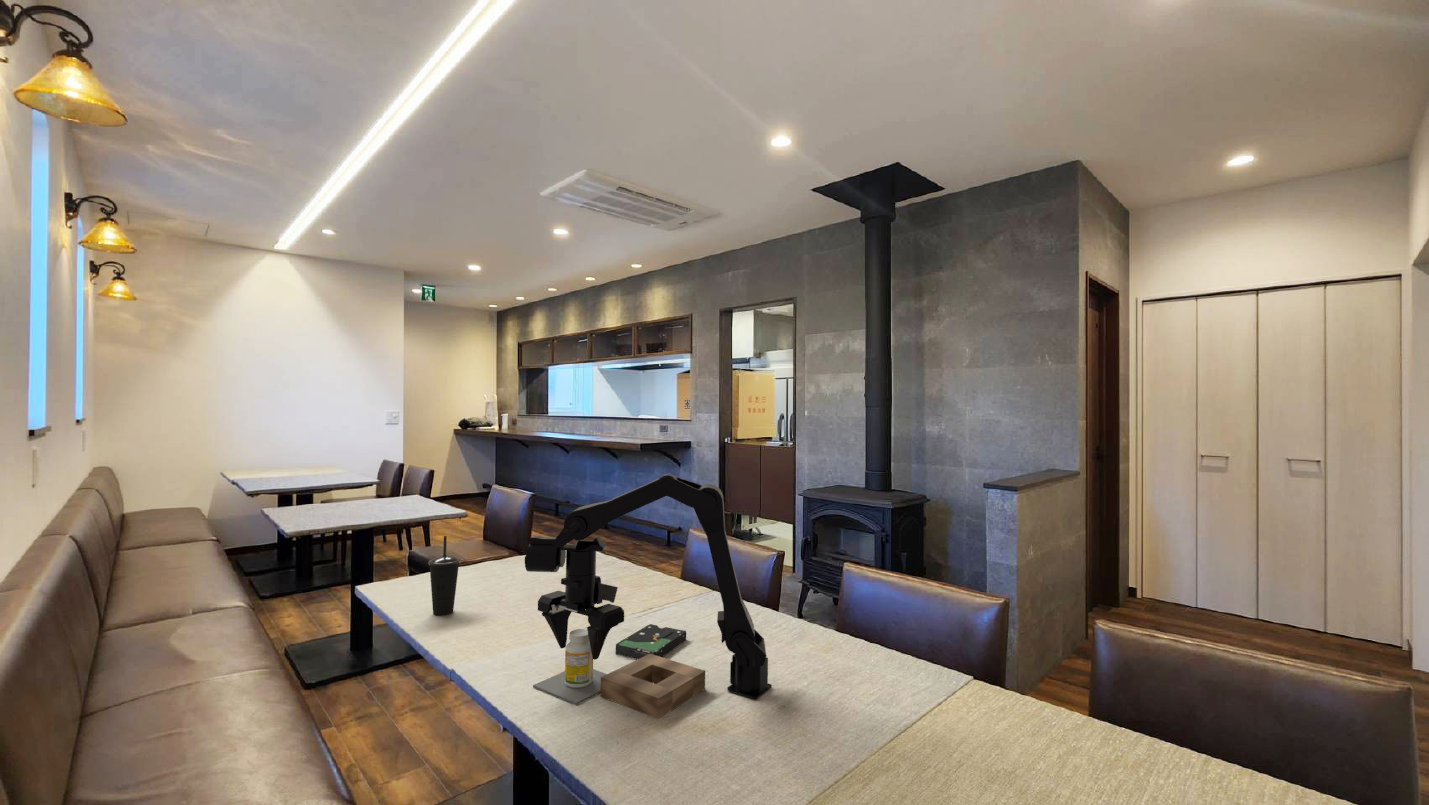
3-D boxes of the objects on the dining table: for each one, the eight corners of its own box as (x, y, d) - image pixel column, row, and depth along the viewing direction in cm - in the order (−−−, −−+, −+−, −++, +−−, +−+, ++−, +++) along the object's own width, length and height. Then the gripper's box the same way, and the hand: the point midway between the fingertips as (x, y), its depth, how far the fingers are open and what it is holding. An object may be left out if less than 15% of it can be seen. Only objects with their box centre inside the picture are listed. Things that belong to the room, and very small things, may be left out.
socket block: (704, 689, 114) (705, 670, 114) (658, 719, 102) (658, 698, 102) (649, 670, 122) (649, 653, 122) (600, 696, 110) (600, 677, 110)
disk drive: (648, 635, 143) (614, 656, 130) (649, 623, 144) (614, 643, 130) (686, 642, 139) (655, 665, 126) (687, 630, 139) (655, 651, 126)
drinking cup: (427, 610, 157) (429, 534, 158) (458, 606, 161) (460, 532, 161) (426, 619, 150) (428, 540, 151) (459, 615, 154) (461, 537, 154)
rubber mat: (622, 681, 116) (622, 679, 116) (576, 705, 107) (576, 703, 107) (580, 666, 123) (580, 664, 123) (532, 687, 113) (533, 685, 113)
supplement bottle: (581, 690, 111) (582, 639, 112) (558, 685, 114) (559, 634, 114) (598, 679, 116) (599, 630, 117) (576, 674, 118) (577, 626, 119)
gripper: (644, 571, 117) (642, 651, 116) (578, 558, 127) (577, 631, 127) (603, 584, 108) (601, 670, 107) (536, 568, 118) (534, 647, 118)
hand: (579, 653), depth 115 cm, fingers open, 9 cm apart
